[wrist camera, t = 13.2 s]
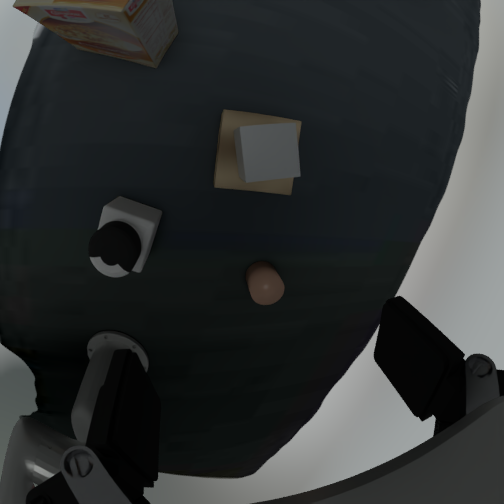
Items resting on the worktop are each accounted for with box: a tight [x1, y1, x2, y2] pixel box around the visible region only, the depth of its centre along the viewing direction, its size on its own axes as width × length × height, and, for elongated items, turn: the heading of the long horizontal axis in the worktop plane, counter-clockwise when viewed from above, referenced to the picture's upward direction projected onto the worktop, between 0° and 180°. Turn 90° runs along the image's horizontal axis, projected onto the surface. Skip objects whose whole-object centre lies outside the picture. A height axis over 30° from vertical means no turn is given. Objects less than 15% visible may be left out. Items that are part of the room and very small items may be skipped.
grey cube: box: [233, 123, 300, 183], centre depth 30 cm, size 6×6×6 cm
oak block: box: [213, 110, 301, 195], centre depth 36 cm, size 10×10×5 cm
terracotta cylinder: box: [246, 261, 284, 305], centre depth 43 cm, size 5×5×5 cm
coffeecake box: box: [13, 0, 178, 68], centre depth 19 cm, size 15×7×20 cm, turn 64°
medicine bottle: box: [89, 196, 162, 277], centre depth 33 cm, size 7×7×12 cm
